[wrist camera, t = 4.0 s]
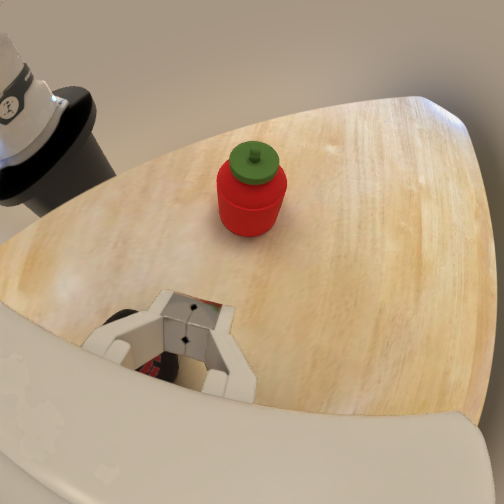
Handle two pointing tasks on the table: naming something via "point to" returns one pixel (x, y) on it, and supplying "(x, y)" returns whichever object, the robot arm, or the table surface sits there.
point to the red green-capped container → (250, 189)
